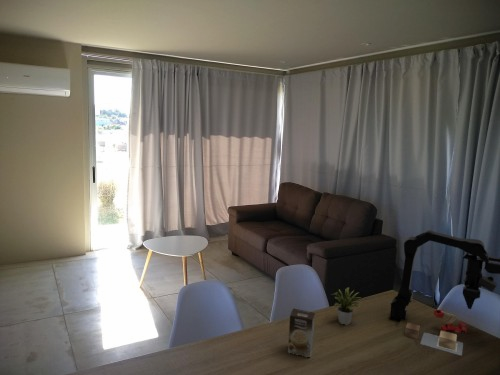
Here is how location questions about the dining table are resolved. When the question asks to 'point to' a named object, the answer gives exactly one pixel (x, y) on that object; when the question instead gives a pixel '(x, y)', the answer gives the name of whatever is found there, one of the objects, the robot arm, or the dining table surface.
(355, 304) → the house plant
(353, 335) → the dining table surface
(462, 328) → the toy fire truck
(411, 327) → the walnut cube
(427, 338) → the plate
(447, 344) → the oak base block
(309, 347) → the coffee box
